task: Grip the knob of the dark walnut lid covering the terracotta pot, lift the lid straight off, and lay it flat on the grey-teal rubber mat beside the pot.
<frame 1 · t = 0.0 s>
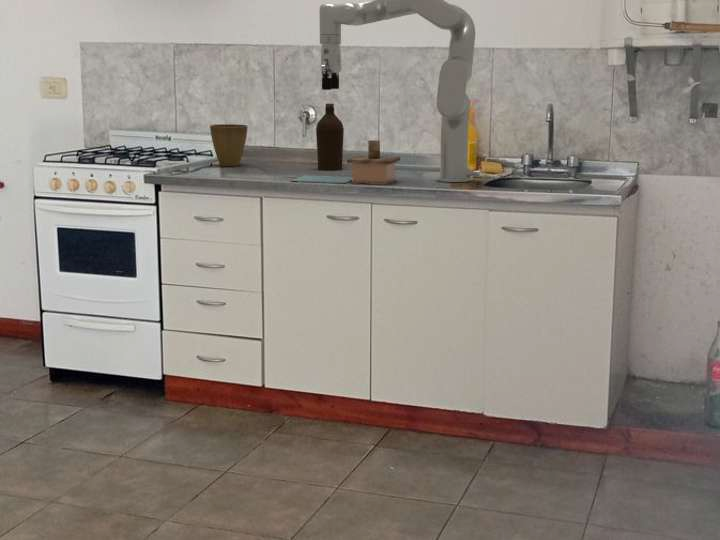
hand: (330, 89, 375), 31 cm above the counter, tool pointing down, fingers open, 9 cm apart
olive oil: (330, 169, 407), on the counter
lid: (374, 161, 364), point 7 cm above the counter, touching pot
plant pot: (229, 166, 419), on the counter
pot: (374, 181, 366), on the counter
mat: (325, 180, 371), on the counter
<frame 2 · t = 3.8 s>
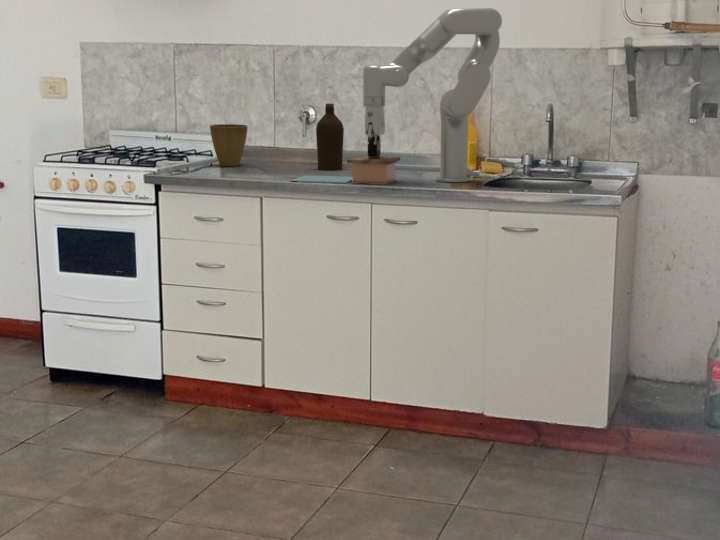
hand: (374, 155, 364), 9 cm above the counter, tool pointing down, fingers closed on lid, 4 cm apart
lid: (374, 161, 364), point 7 cm above the counter, touching gripper, pot
everything else where it was.
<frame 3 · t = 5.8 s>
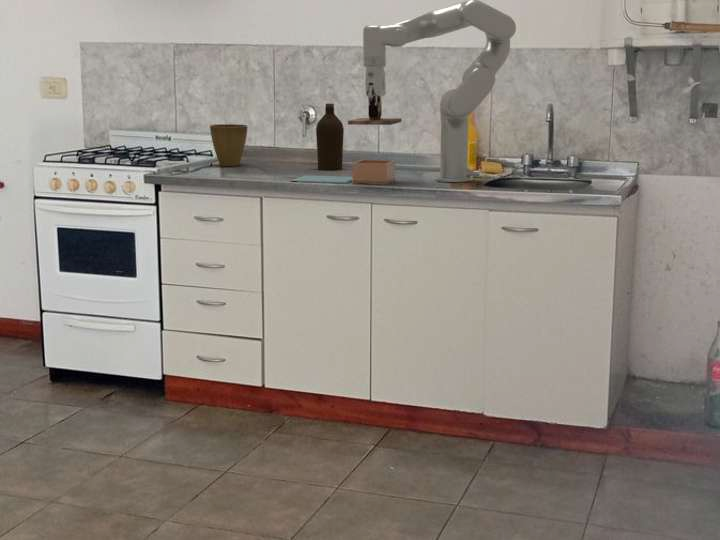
hand: (375, 116, 361), 23 cm above the counter, tool pointing down, fingers closed on lid, 4 cm apart
lid: (375, 123, 362), point 20 cm above the counter, touching gripper
everything else where it was.
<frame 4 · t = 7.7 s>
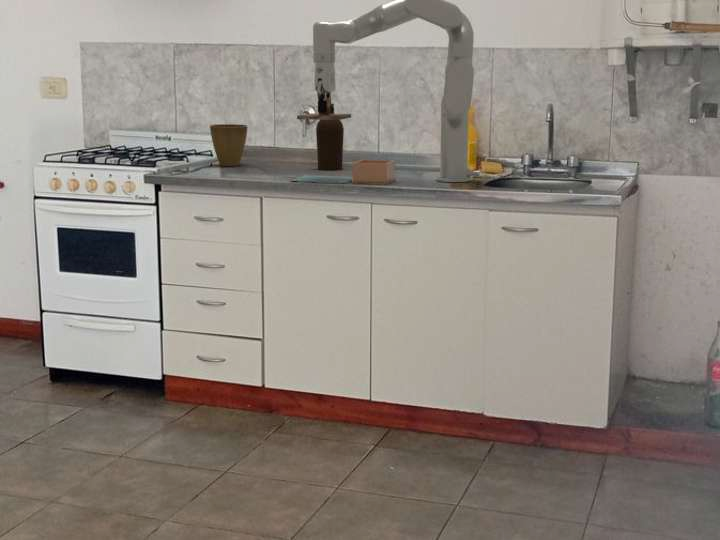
hand: (324, 111, 366), 24 cm above the counter, tool pointing down, fingers closed on lid, 4 cm apart
lid: (324, 118, 366), point 22 cm above the counter, touching gripper
everything else where it was.
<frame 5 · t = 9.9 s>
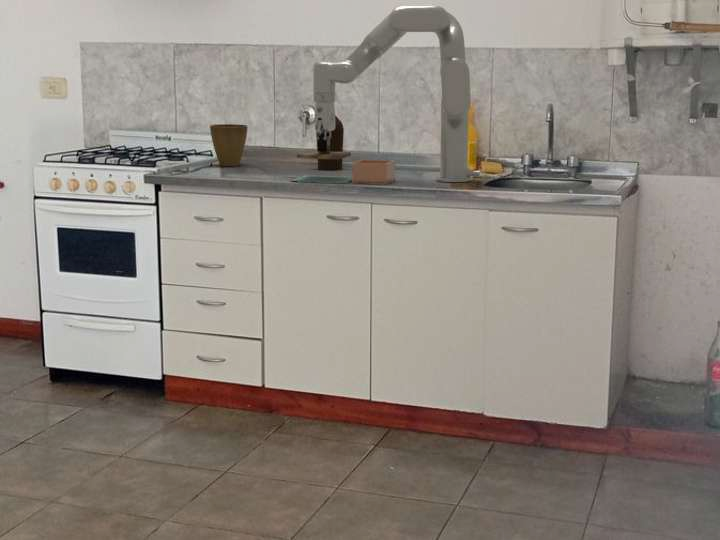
hand: (324, 150, 369), 10 cm above the counter, tool pointing down, fingers closed on lid, 4 cm apart
lid: (324, 156, 369), point 8 cm above the counter, touching gripper
everything else where it was.
when the fingers open (5 cm above the counter, at t = 11.9 s): lid drops 2 cm, resting on mat.
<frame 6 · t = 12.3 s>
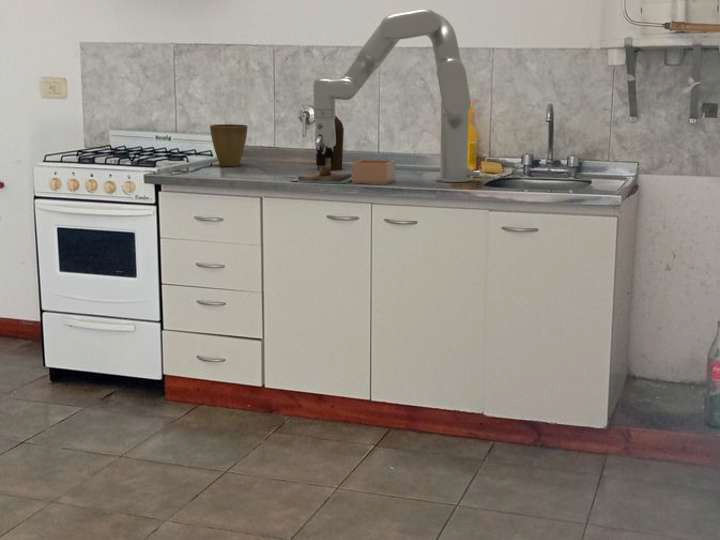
hand: (324, 164, 370), 6 cm above the counter, tool pointing down, fingers open, 8 cm apart
lid: (325, 178, 371), resting on mat
everything else where it was.
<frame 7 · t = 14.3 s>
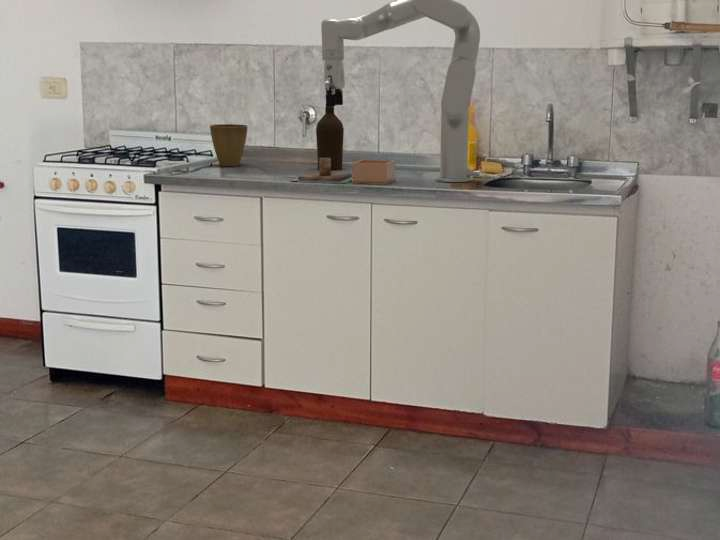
hand: (334, 105, 368), 26 cm above the counter, tool pointing down, fingers open, 9 cm apart
nothing on the counter moved.
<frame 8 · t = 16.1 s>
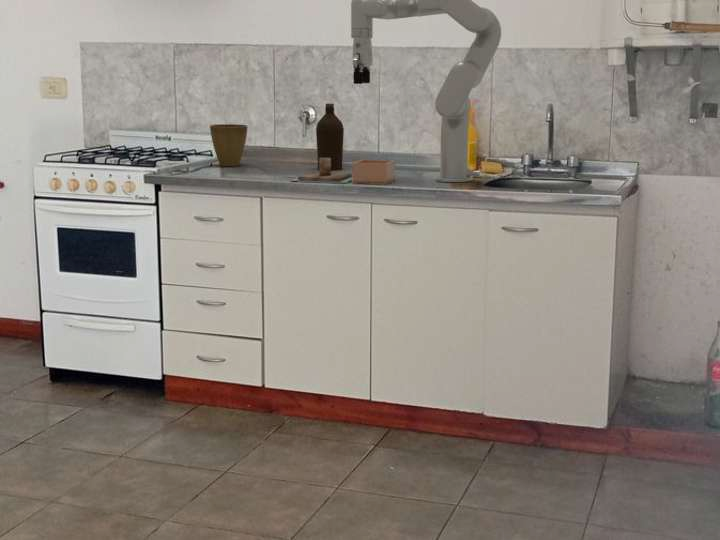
hand: (361, 83, 373), 33 cm above the counter, tool pointing down, fingers open, 9 cm apart
nothing on the counter moved.
at the end: lid inside the target area on the mat (0.1 cm from its centre), point 0.5 cm above the mat's base; lid tilted 0°; the gripper is holding nothing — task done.
